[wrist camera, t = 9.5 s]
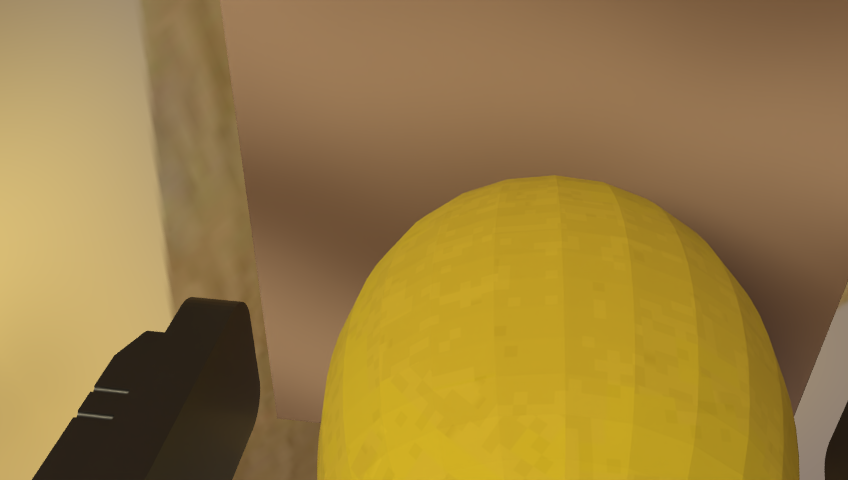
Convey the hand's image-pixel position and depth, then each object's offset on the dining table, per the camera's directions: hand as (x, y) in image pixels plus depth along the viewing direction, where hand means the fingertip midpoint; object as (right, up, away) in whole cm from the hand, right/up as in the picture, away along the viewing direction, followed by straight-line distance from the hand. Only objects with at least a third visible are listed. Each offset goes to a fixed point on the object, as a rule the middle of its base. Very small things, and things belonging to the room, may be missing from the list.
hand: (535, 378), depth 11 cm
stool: (+2, +6, +9) cm, 11 cm away
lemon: (0, +2, +3) cm, 3 cm away
